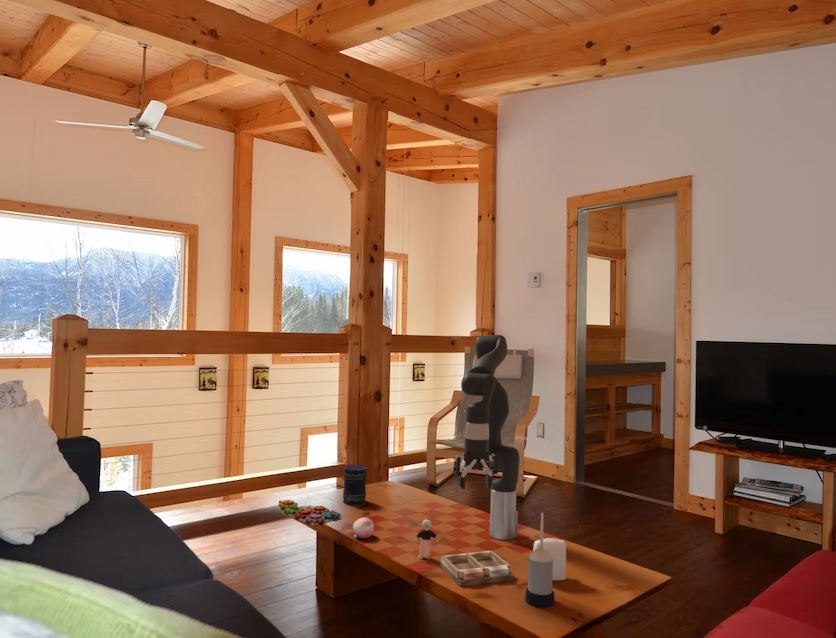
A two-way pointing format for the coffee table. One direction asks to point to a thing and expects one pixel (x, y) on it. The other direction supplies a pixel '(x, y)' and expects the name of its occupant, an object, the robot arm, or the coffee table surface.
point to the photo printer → (555, 556)
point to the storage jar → (354, 485)
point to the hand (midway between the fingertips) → (475, 488)
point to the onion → (363, 528)
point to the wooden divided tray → (476, 568)
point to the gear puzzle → (309, 513)
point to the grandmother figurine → (425, 540)
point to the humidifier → (540, 576)
